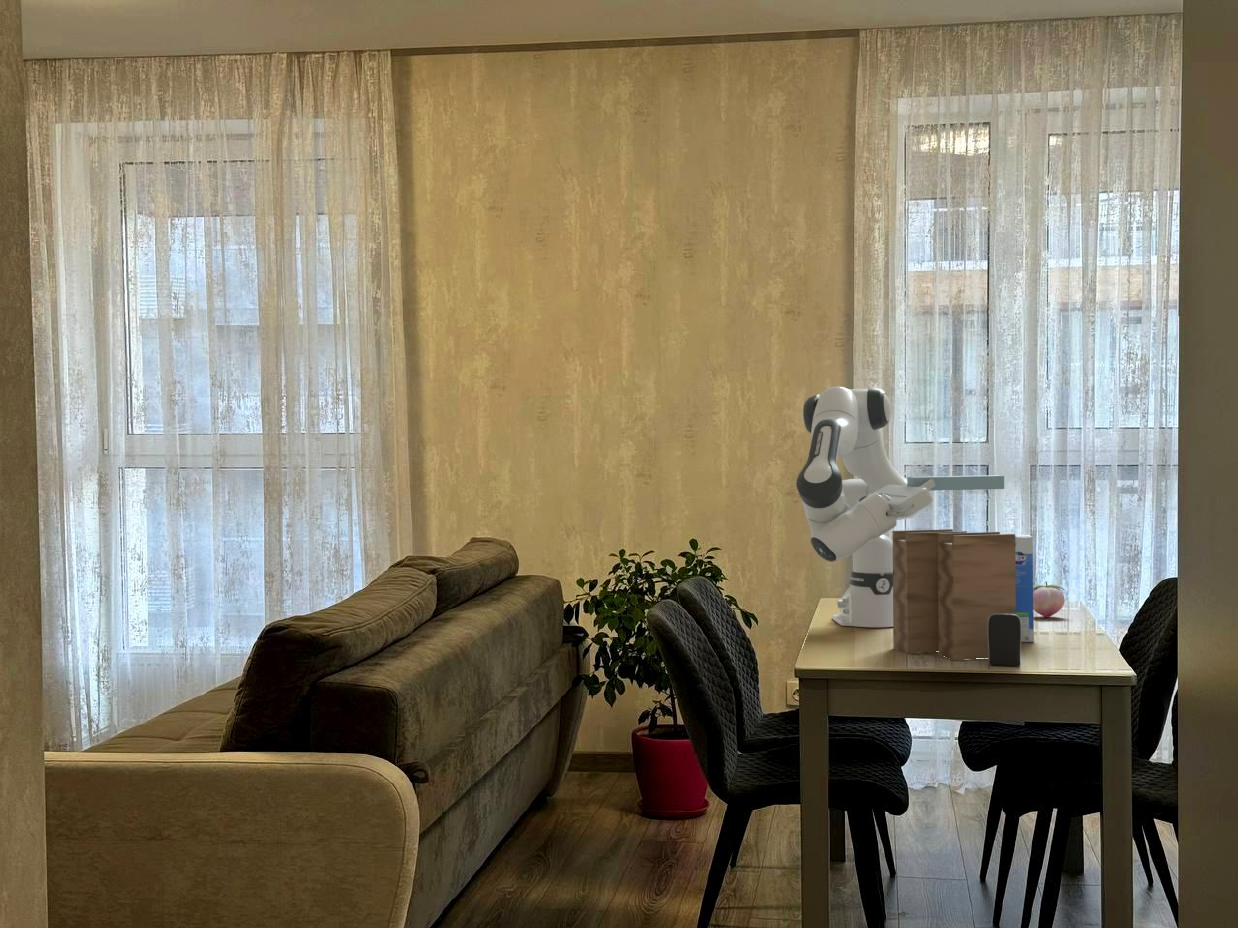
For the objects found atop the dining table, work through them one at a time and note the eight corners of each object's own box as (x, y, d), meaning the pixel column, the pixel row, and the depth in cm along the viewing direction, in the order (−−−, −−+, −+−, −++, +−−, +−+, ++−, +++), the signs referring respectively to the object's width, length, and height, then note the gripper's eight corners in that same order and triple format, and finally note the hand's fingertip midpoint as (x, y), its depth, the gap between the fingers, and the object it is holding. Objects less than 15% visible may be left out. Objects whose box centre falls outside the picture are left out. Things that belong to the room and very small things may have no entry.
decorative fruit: (1056, 615, 355) (1056, 579, 355) (1068, 619, 347) (1068, 582, 347) (1023, 615, 355) (1023, 579, 354) (1034, 619, 346) (1034, 583, 346)
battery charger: (1020, 663, 280) (1020, 612, 280) (1021, 667, 277) (1021, 614, 277) (987, 663, 282) (987, 611, 282) (988, 666, 278) (987, 613, 278)
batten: (907, 490, 288) (907, 476, 288) (996, 488, 293) (996, 475, 293) (913, 490, 285) (913, 477, 285) (1004, 489, 289) (1004, 475, 289)
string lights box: (1030, 638, 316) (1029, 534, 315) (1034, 642, 308) (1034, 536, 308) (975, 637, 318) (974, 534, 318) (978, 642, 311) (977, 536, 310)
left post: (893, 648, 303) (892, 530, 302) (951, 645, 306) (950, 529, 305) (907, 653, 295) (906, 533, 295) (967, 650, 298) (966, 531, 298)
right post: (938, 655, 293) (937, 533, 292) (998, 652, 296) (997, 531, 295) (954, 660, 285) (953, 536, 285) (1016, 657, 288) (1015, 534, 288)
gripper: (891, 503, 274) (942, 470, 277) (854, 499, 294) (902, 468, 297) (904, 528, 275) (956, 495, 278) (867, 522, 295) (915, 491, 298)
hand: (928, 481), depth 287 cm, fingers closed on batten, 3 cm apart
